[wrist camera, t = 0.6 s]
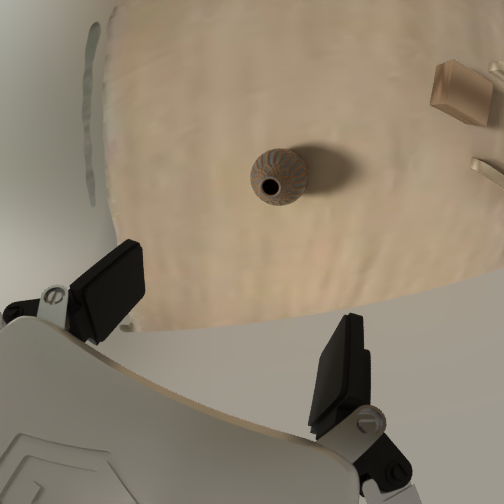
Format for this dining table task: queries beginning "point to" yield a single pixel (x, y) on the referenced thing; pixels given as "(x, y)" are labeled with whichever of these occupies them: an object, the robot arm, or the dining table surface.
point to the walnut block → (462, 93)
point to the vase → (279, 177)
